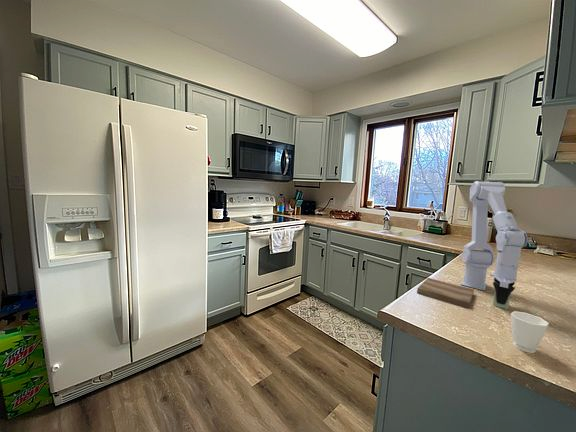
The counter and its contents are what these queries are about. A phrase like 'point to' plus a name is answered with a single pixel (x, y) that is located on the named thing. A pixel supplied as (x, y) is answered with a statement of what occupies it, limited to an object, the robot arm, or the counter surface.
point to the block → (500, 304)
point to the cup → (527, 331)
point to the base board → (446, 292)
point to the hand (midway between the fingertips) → (500, 301)
